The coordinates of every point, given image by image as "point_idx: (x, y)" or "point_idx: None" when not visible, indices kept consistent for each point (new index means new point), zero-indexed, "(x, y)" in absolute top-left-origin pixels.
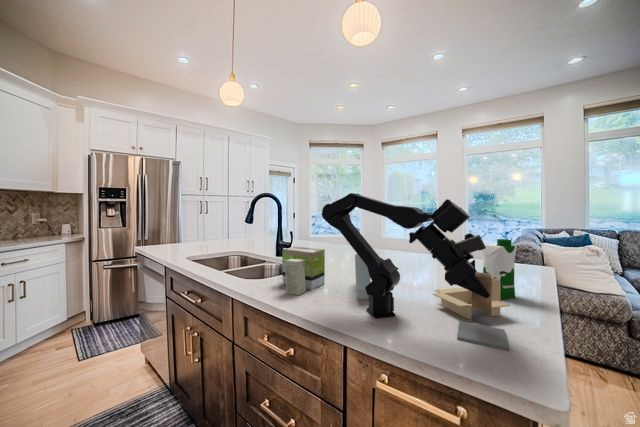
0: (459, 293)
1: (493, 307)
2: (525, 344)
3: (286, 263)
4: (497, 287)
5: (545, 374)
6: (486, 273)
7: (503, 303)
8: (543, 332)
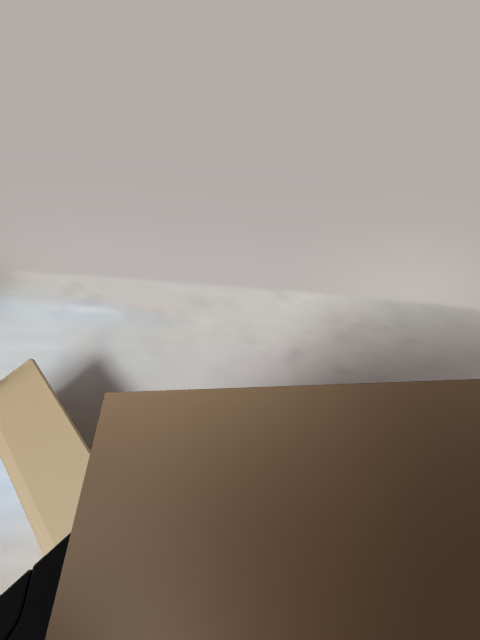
0: None
1: (73, 426)
2: (266, 350)
3: None
4: None
5: (424, 325)
6: (118, 467)
7: (15, 382)
8: (153, 304)
